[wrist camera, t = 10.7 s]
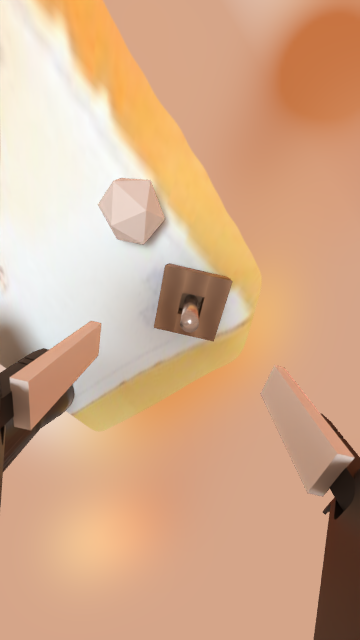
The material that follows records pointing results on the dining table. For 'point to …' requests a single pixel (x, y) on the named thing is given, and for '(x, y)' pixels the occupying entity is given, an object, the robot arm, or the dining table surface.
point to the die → (132, 209)
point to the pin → (190, 314)
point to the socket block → (209, 299)
